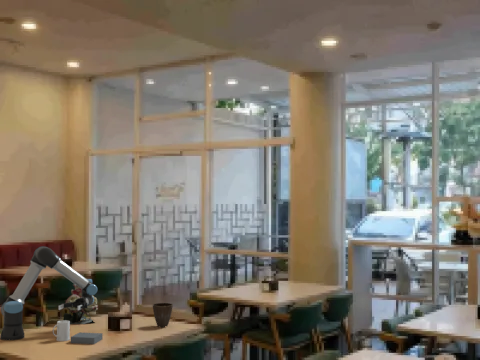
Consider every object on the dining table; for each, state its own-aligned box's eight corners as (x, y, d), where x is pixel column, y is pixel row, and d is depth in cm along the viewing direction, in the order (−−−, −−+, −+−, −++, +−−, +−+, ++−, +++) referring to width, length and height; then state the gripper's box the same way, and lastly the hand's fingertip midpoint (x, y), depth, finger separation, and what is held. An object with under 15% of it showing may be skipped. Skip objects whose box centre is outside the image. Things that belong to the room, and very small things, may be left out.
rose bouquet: (62, 325, 431) (63, 285, 433) (63, 318, 459) (64, 280, 461) (98, 324, 438) (99, 284, 440) (97, 317, 466) (98, 279, 468)
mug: (54, 342, 377) (55, 323, 378) (49, 340, 384) (49, 321, 384) (72, 340, 385) (72, 321, 386) (66, 337, 392) (66, 319, 392)
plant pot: (165, 329, 423) (165, 306, 424) (148, 327, 430) (148, 305, 431) (176, 325, 437) (176, 303, 438) (159, 323, 443) (159, 302, 444)
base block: (70, 343, 376) (70, 336, 376) (79, 338, 390) (79, 332, 390) (94, 344, 374) (94, 337, 374) (102, 339, 388) (102, 333, 388)
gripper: (97, 308, 414) (85, 314, 393) (64, 307, 418) (50, 313, 397) (98, 298, 415) (86, 302, 394) (64, 297, 418) (51, 302, 397)
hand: (68, 308), depth 395 cm, fingers open, 13 cm apart
